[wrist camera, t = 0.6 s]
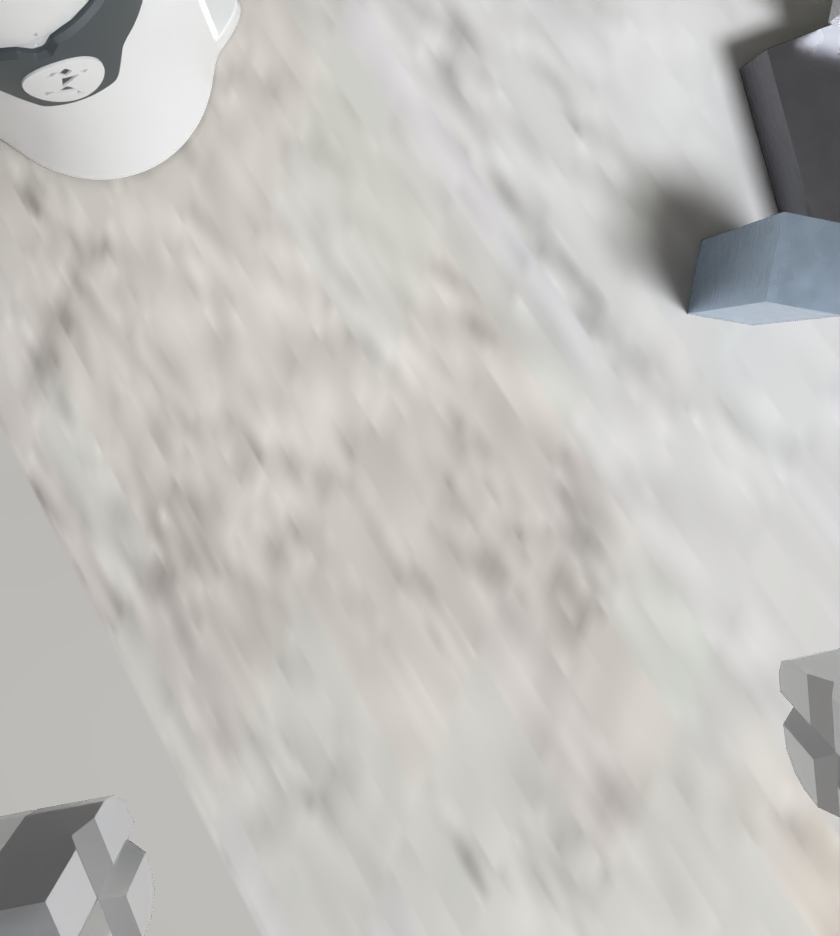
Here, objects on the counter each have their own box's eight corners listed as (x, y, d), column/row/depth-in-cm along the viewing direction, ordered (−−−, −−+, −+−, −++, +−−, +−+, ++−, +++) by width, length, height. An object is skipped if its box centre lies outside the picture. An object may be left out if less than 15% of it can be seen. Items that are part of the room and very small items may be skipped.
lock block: (753, 325, 49) (844, 315, 41) (687, 313, 49) (765, 301, 40) (767, 253, 49) (863, 227, 40) (701, 240, 48) (783, 211, 39)
